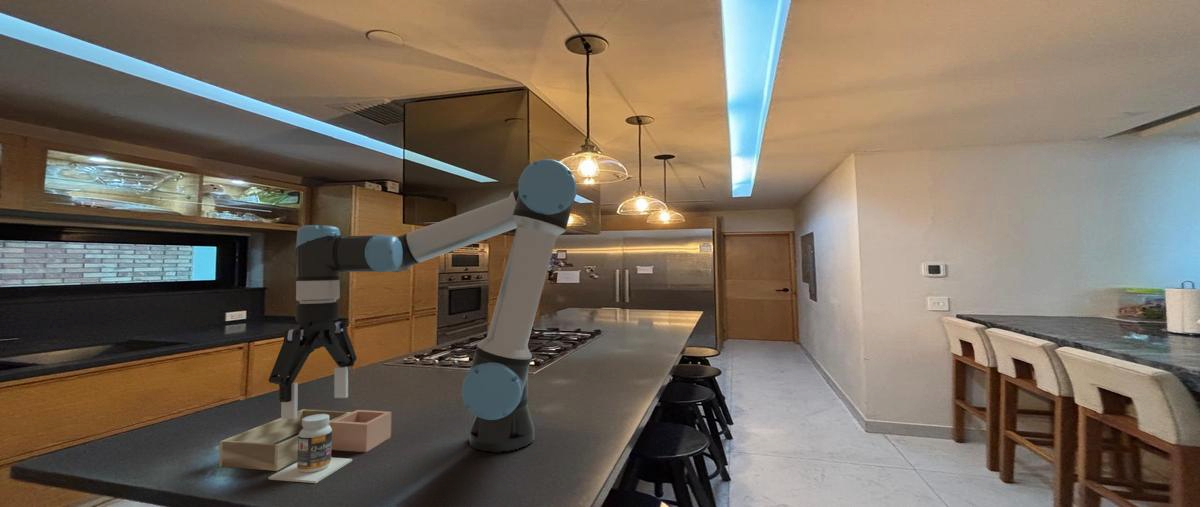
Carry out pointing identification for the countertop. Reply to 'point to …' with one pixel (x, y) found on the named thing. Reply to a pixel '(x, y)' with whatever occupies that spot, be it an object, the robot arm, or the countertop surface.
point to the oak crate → (268, 443)
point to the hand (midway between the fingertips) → (317, 407)
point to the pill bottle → (314, 444)
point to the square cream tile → (312, 477)
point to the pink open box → (360, 430)
